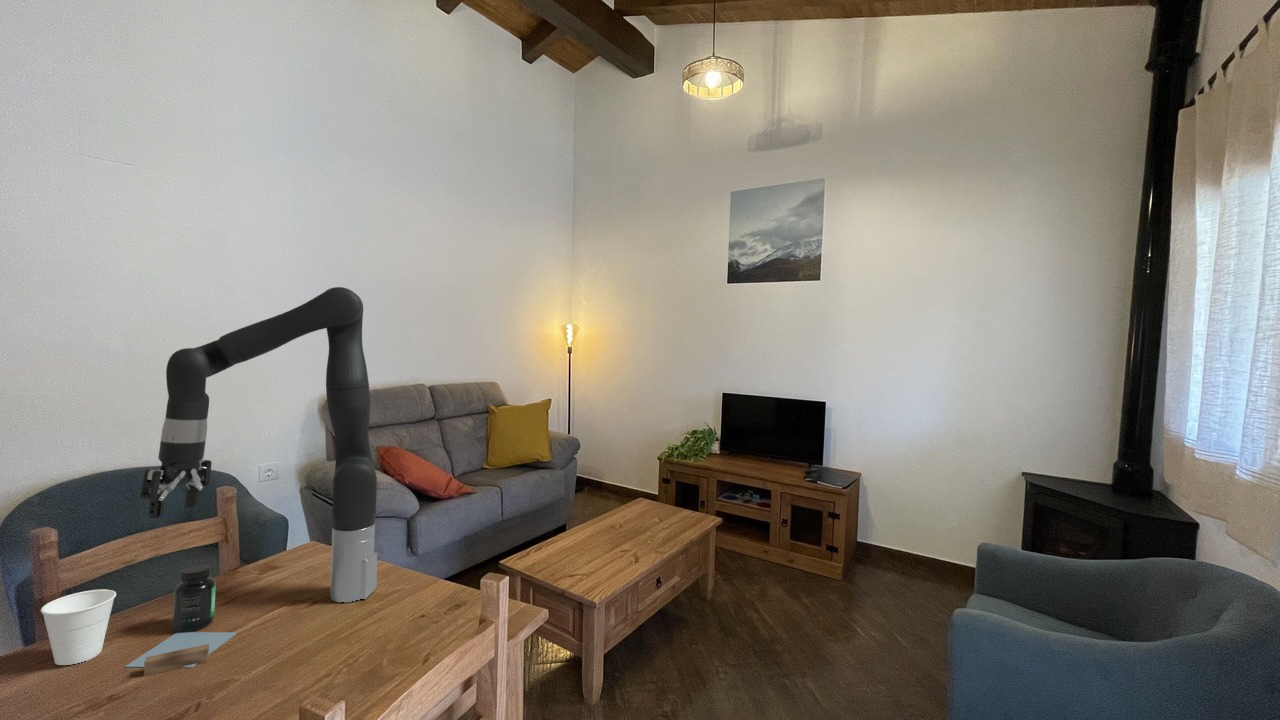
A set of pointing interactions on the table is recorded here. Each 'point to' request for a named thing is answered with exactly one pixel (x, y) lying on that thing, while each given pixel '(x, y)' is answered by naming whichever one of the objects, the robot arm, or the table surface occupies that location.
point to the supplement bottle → (194, 599)
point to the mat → (185, 644)
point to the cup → (78, 625)
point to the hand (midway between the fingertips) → (174, 512)
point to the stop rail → (176, 659)
